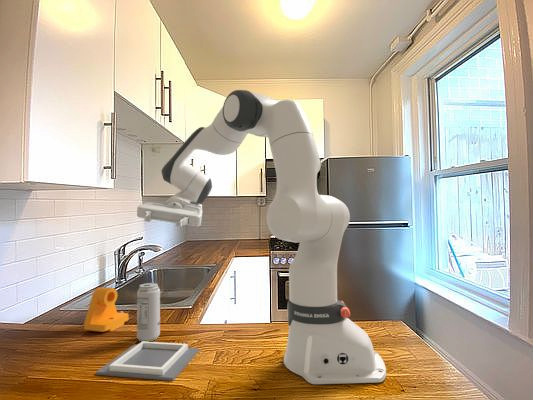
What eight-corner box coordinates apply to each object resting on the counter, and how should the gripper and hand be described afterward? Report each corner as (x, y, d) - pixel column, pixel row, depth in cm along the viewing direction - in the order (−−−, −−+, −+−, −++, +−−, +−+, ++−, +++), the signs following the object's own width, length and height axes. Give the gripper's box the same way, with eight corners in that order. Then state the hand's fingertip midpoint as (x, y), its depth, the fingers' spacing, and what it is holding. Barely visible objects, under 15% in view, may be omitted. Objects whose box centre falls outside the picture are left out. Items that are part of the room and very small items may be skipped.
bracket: (103, 334, 88) (104, 293, 89) (84, 332, 90) (84, 291, 91) (129, 321, 98) (130, 284, 99) (111, 320, 100) (112, 283, 101)
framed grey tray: (199, 350, 77) (199, 343, 77) (173, 380, 63) (173, 372, 63) (134, 346, 80) (134, 339, 80) (96, 374, 66) (96, 366, 66)
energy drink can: (163, 338, 84) (163, 284, 85) (142, 345, 80) (142, 288, 81) (154, 333, 89) (154, 281, 89) (133, 339, 84) (133, 285, 85)
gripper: (147, 195, 102) (128, 206, 89) (206, 205, 103) (197, 217, 90) (145, 213, 104) (127, 226, 91) (204, 222, 105) (194, 236, 91)
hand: (162, 221), depth 90 cm, fingers open, 8 cm apart
